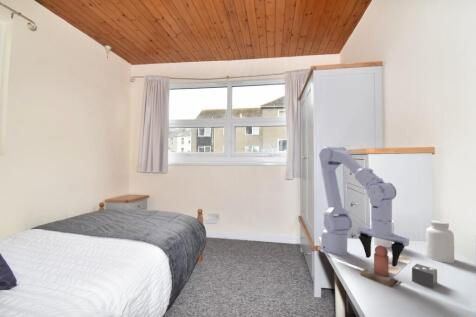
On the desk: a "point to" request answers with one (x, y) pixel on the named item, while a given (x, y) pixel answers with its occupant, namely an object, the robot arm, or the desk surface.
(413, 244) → the desk surface
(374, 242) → the cup
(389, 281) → the board
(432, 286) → the dark grey block
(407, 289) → the desk surface
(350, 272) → the desk surface
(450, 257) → the pill bottle
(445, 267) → the desk surface
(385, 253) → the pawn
